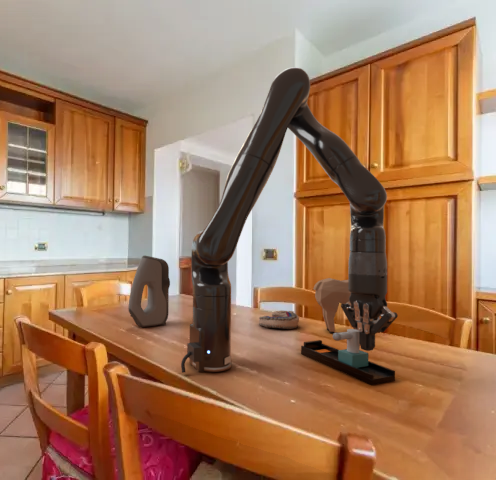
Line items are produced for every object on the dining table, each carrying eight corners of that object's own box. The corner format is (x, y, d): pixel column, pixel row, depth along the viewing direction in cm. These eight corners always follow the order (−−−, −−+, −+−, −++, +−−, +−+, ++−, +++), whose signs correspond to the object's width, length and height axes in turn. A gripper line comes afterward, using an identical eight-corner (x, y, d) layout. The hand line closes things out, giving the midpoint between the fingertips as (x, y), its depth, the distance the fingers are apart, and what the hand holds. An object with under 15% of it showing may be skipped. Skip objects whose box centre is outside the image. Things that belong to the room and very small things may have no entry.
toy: (384, 338, 105) (384, 242, 105) (316, 334, 109) (316, 242, 109) (373, 330, 114) (373, 242, 114) (310, 327, 118) (310, 242, 118)
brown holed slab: (170, 324, 121) (170, 255, 121) (132, 330, 112) (133, 256, 112) (161, 321, 126) (161, 254, 126) (124, 326, 117) (125, 255, 117)
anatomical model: (252, 325, 120) (252, 312, 120) (279, 319, 130) (279, 307, 130) (281, 332, 110) (281, 318, 110) (308, 325, 120) (308, 312, 120)
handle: (340, 370, 74) (341, 334, 74) (327, 364, 78) (327, 330, 78) (368, 366, 77) (368, 331, 77) (353, 360, 81) (353, 327, 81)
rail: (371, 385, 70) (371, 370, 70) (301, 353, 89) (301, 342, 89) (395, 380, 72) (395, 366, 72) (321, 351, 92) (321, 339, 92)
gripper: (331, 270, 80) (330, 343, 79) (382, 275, 67) (382, 361, 67) (354, 269, 82) (354, 340, 82) (408, 274, 70) (408, 357, 70)
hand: (367, 349), depth 75 cm, fingers closed
